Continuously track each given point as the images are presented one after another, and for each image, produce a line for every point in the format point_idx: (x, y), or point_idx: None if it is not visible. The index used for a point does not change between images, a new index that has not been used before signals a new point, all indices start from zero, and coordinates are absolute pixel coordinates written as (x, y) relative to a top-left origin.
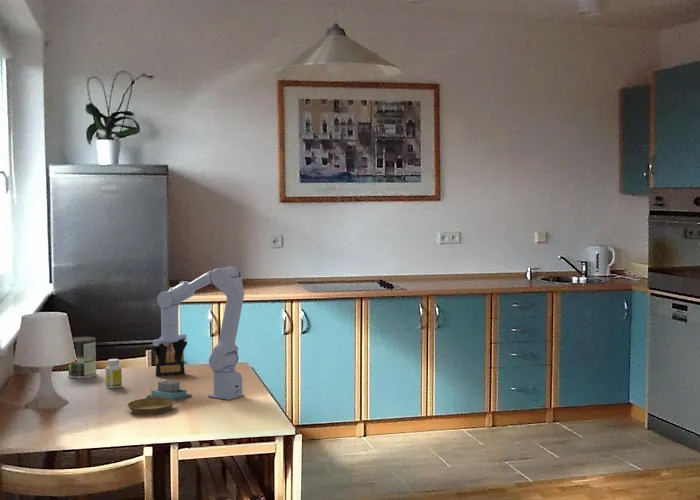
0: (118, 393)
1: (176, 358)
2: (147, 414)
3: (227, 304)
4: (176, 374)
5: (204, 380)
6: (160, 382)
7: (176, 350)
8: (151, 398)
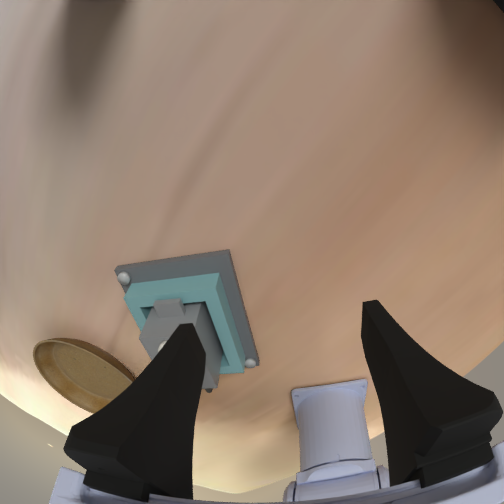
0: (56, 109)
1: (368, 331)
2: (77, 384)
3: None
4: (498, 3)
5: (494, 197)
6: (146, 346)
7: (392, 386)
8: (97, 357)
